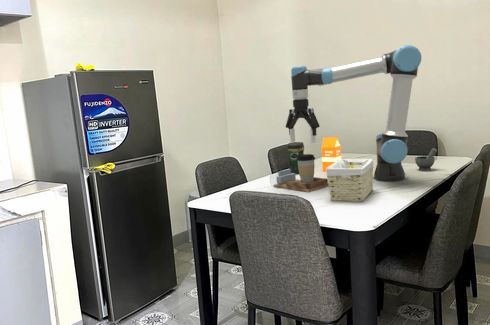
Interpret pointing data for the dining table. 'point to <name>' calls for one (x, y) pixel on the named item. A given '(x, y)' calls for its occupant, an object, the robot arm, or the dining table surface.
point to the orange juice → (330, 151)
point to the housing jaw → (285, 176)
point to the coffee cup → (306, 167)
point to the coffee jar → (295, 155)
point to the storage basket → (350, 179)
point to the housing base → (304, 185)
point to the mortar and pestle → (426, 161)
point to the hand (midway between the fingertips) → (302, 142)
